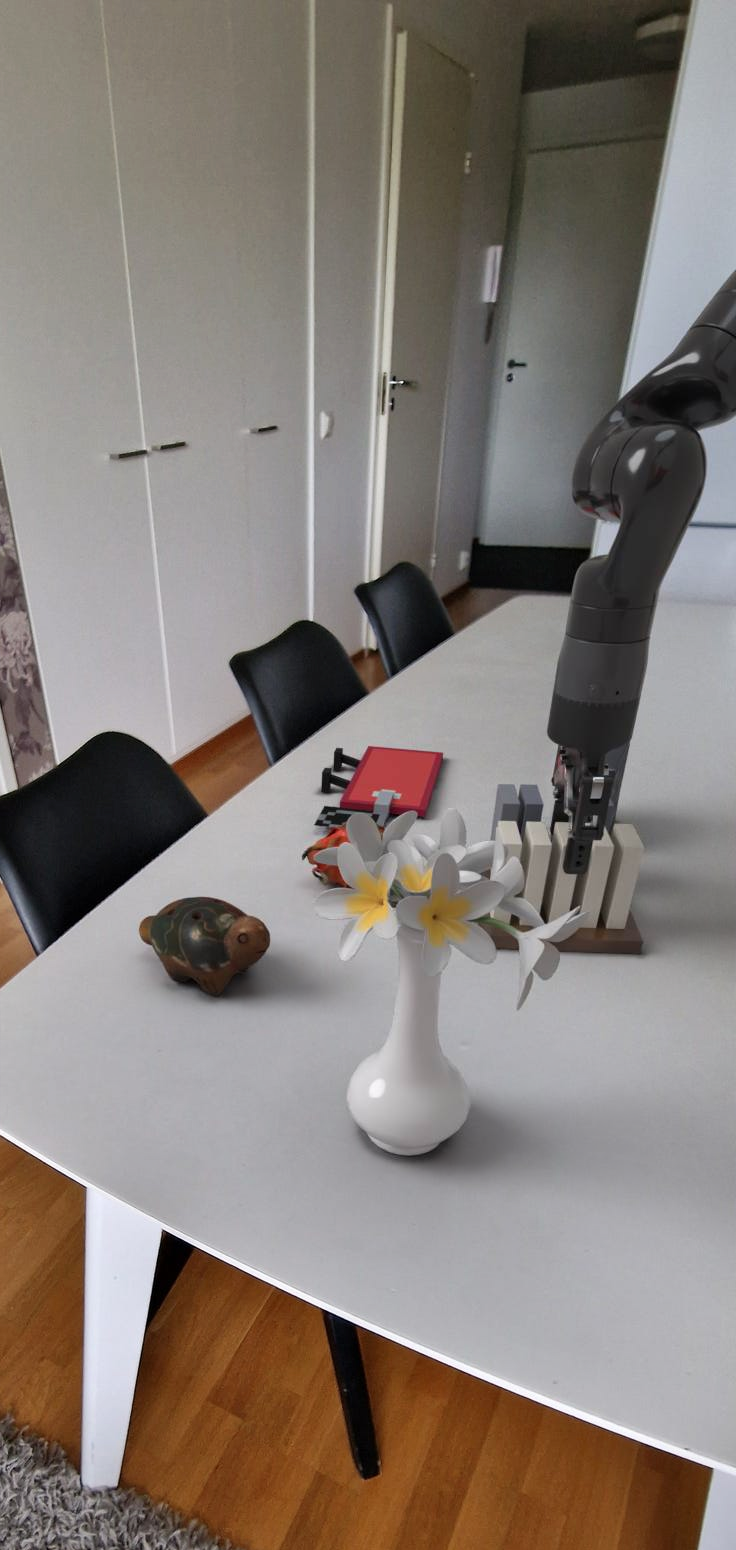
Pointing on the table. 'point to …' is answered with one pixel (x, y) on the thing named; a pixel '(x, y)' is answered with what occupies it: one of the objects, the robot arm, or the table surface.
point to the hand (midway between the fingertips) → (567, 853)
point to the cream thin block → (558, 877)
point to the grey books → (525, 808)
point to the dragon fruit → (331, 840)
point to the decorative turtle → (205, 940)
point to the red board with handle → (381, 784)
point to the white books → (594, 890)
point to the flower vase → (426, 960)
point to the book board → (574, 935)
